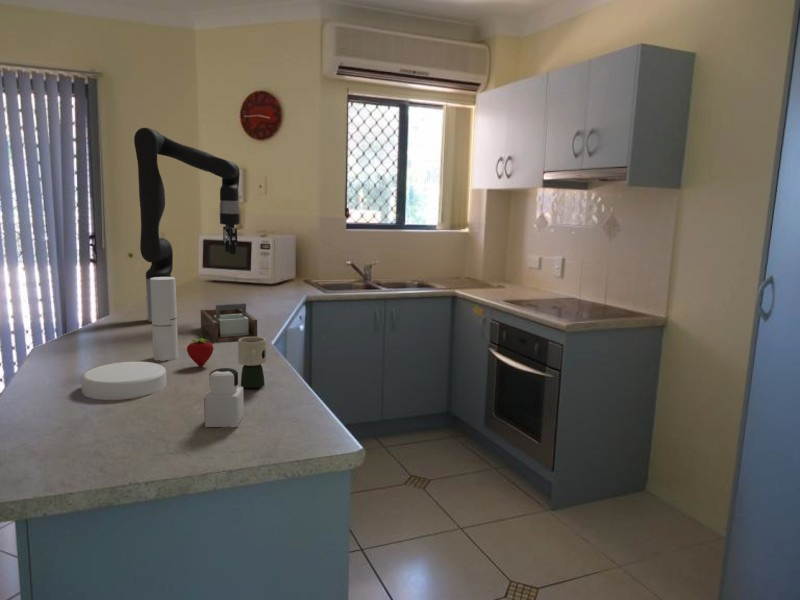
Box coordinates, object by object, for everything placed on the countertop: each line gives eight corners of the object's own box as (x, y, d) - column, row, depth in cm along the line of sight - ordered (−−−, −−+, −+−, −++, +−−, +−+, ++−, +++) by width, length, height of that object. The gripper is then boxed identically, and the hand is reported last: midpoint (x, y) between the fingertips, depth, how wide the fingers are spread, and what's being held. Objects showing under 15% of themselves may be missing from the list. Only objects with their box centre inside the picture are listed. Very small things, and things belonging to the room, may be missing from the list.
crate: (219, 337, 202) (219, 307, 200) (214, 331, 210) (213, 302, 209) (249, 334, 207) (248, 305, 205) (242, 329, 215) (241, 301, 214)
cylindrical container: (183, 356, 180) (180, 278, 176) (165, 361, 173) (162, 280, 169) (166, 353, 183) (163, 276, 179) (148, 358, 176) (144, 278, 172)
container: (108, 375, 160) (107, 359, 159) (179, 378, 159) (178, 362, 158) (64, 399, 140) (63, 381, 139) (145, 402, 139) (144, 384, 139)
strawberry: (187, 364, 171) (186, 332, 170) (213, 362, 174) (212, 330, 172) (187, 370, 166) (186, 336, 164) (214, 368, 168) (213, 335, 167)
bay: (214, 342, 199) (214, 323, 197) (201, 327, 221) (200, 310, 220) (257, 338, 206) (257, 319, 205) (240, 324, 228) (239, 307, 227)
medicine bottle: (212, 416, 131) (211, 365, 129) (244, 416, 132) (243, 365, 130) (204, 428, 124) (203, 375, 122) (237, 427, 125) (237, 375, 123)
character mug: (268, 392, 149) (267, 343, 147) (239, 394, 146) (239, 345, 144) (264, 379, 159) (264, 334, 157) (238, 381, 157) (237, 335, 155)
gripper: (216, 211, 231) (217, 251, 234) (223, 212, 219) (224, 254, 222) (234, 212, 235) (235, 251, 238) (243, 213, 223) (244, 254, 225)
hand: (230, 253), depth 230 cm, fingers open, 8 cm apart
